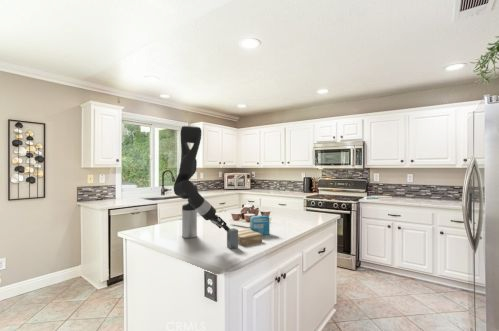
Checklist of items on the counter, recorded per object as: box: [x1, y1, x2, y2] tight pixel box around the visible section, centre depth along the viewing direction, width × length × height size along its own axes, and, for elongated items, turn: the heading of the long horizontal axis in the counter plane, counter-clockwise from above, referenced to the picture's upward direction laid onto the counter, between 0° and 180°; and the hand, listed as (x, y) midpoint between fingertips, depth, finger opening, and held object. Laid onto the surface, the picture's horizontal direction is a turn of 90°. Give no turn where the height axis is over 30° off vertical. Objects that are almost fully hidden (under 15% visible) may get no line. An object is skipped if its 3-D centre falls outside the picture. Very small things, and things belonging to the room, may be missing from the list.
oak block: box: [238, 229, 263, 247], centre depth 160 cm, size 14×14×5 cm
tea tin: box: [226, 227, 239, 250], centre depth 148 cm, size 4×4×10 cm
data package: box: [249, 215, 270, 236], centre depth 176 cm, size 12×4×12 cm, turn 108°
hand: (224, 228), depth 145 cm, fingers open, 8 cm apart
